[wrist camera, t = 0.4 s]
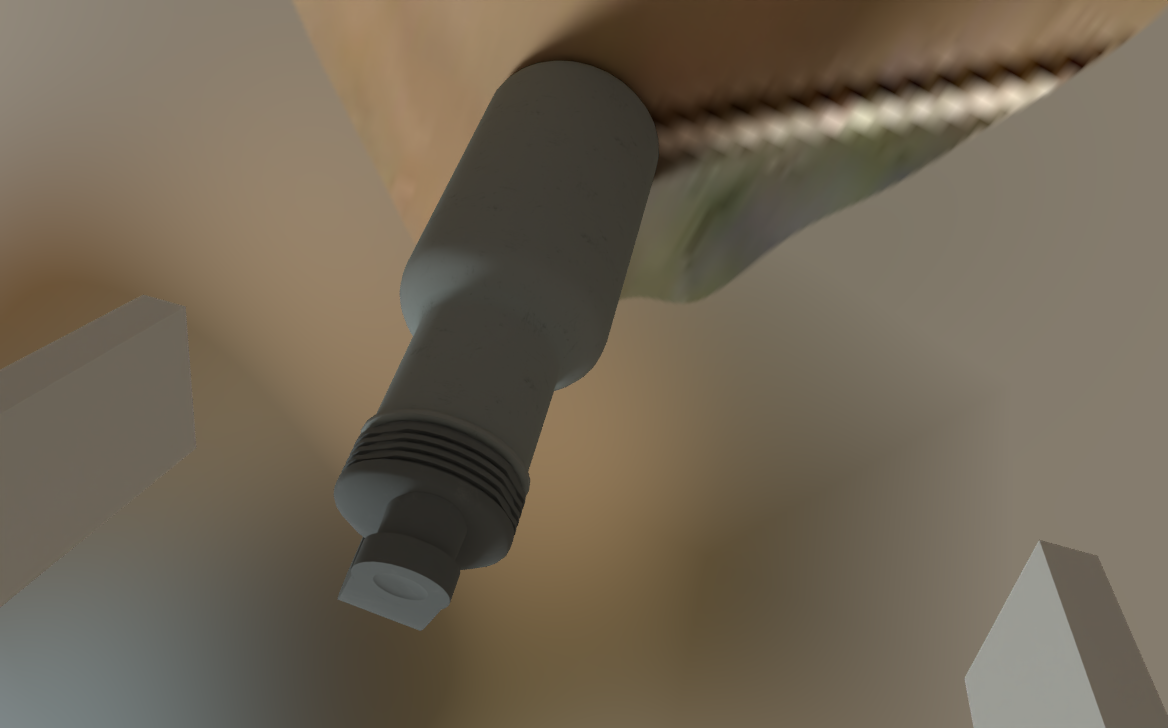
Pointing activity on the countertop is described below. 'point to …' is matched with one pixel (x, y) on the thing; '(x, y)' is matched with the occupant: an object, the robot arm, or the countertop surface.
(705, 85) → the countertop surface
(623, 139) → the water bottle
